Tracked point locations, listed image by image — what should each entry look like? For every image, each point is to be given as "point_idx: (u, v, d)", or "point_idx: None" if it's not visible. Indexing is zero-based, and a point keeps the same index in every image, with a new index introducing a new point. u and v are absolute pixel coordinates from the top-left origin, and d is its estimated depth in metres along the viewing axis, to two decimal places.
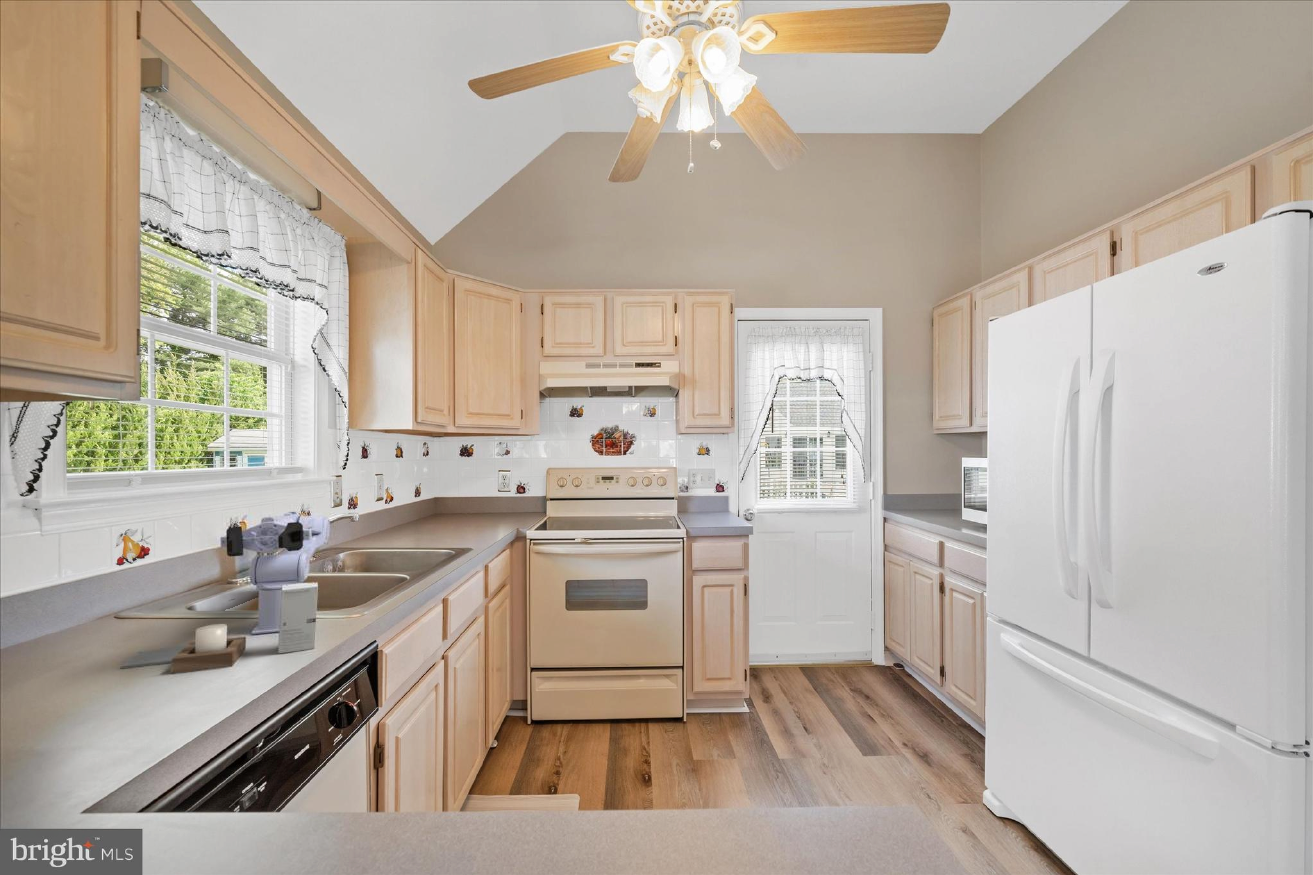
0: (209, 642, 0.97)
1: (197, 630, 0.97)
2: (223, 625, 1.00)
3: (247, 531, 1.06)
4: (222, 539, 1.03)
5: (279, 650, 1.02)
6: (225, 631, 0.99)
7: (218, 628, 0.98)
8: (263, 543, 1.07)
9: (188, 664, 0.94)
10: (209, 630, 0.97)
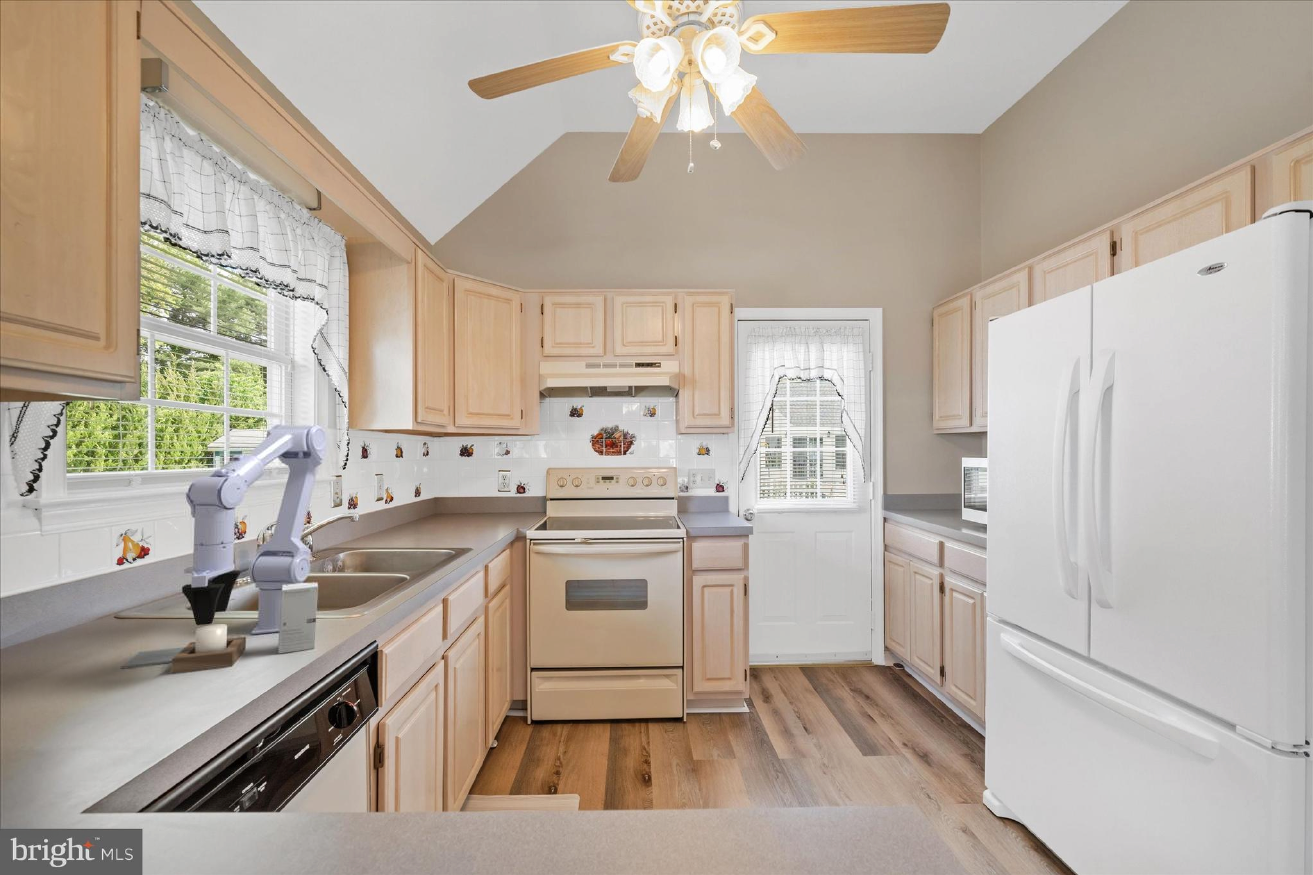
0: (209, 642, 0.97)
1: (197, 630, 0.97)
2: (223, 625, 1.00)
3: None
4: None
5: (279, 650, 1.02)
6: (225, 631, 0.99)
7: (218, 628, 0.98)
8: None
9: (188, 664, 0.94)
10: (209, 630, 0.97)
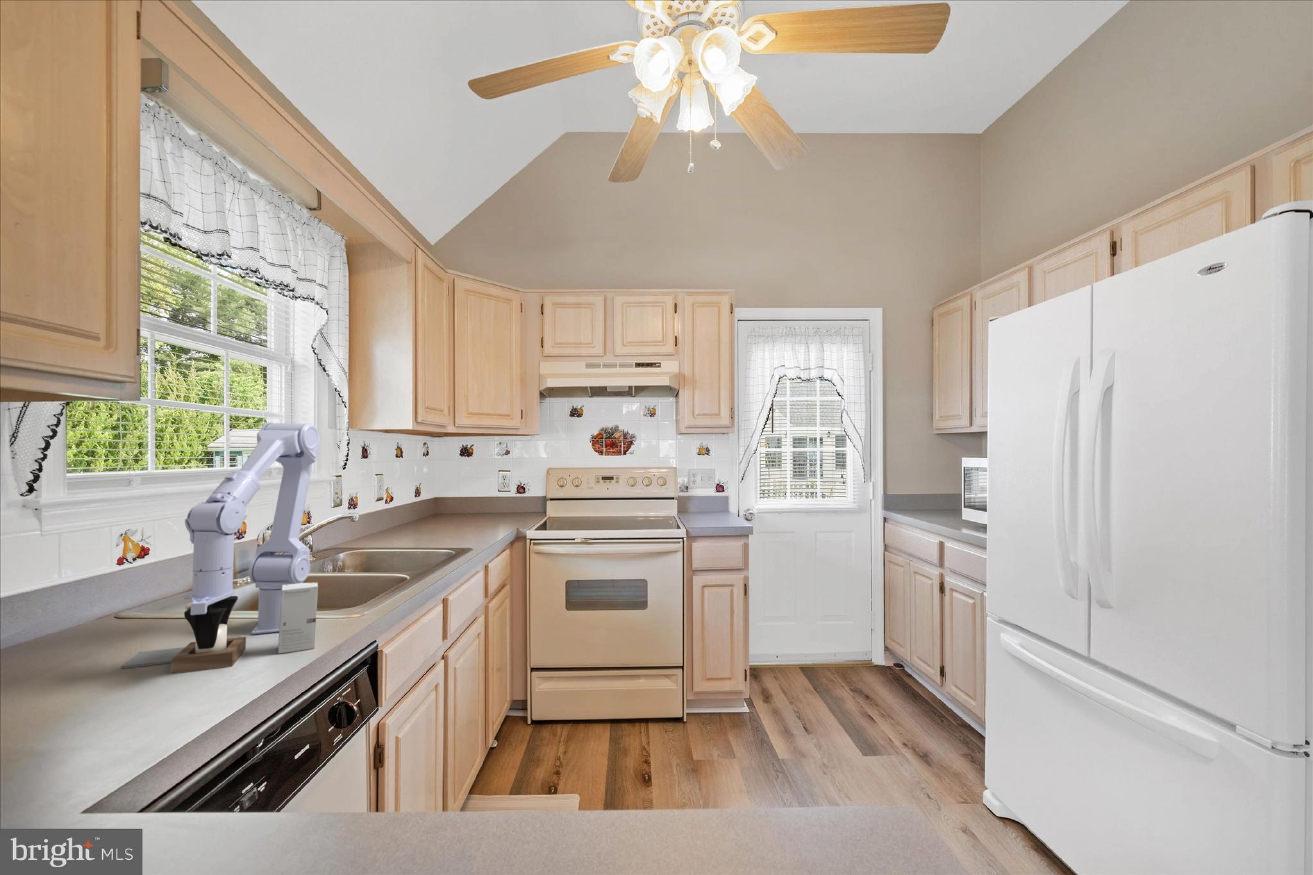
0: None
1: None
2: (223, 625, 1.00)
3: None
4: None
5: (279, 650, 1.02)
6: (225, 631, 0.99)
7: (218, 628, 0.98)
8: None
9: (188, 664, 0.94)
10: None
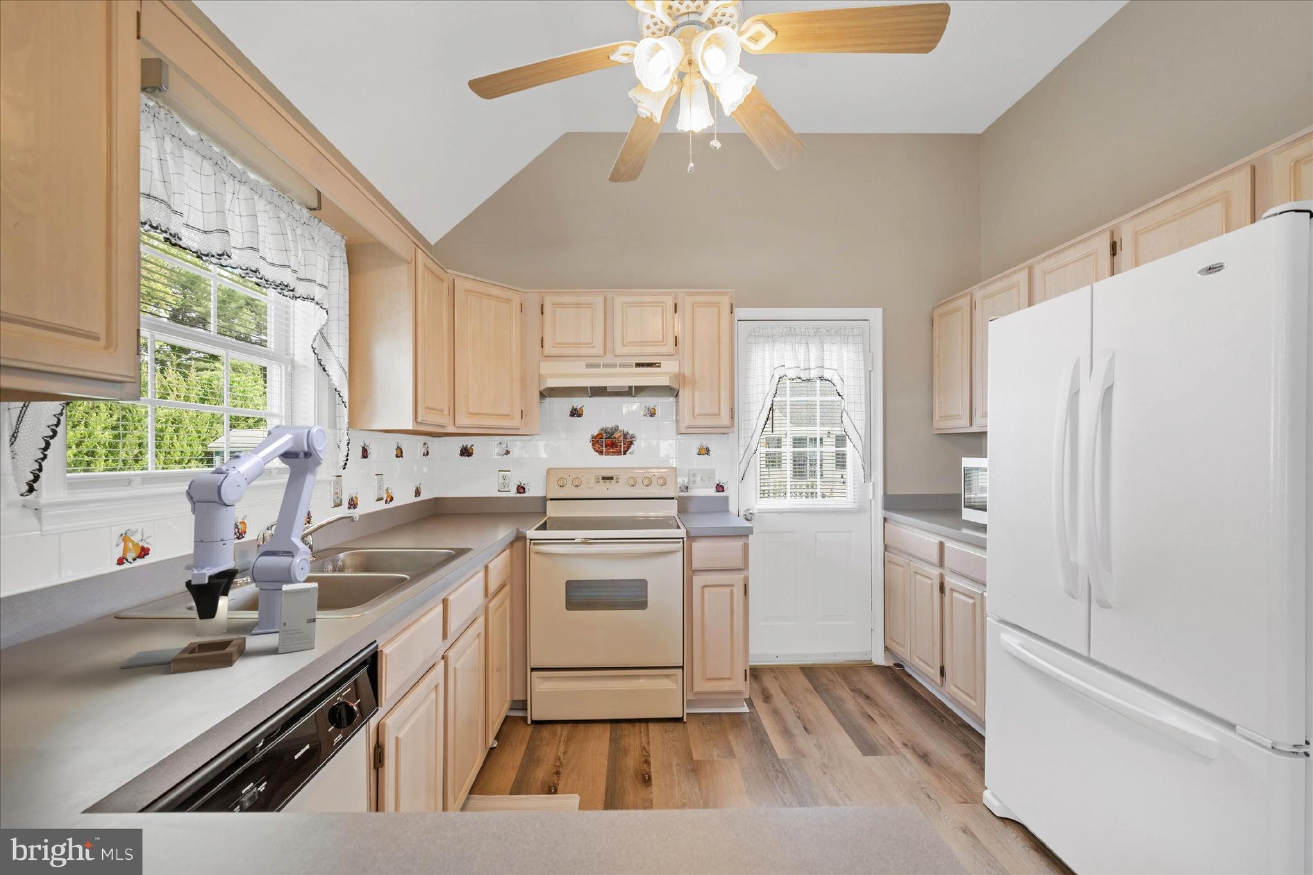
0: None
1: None
2: (224, 597, 1.00)
3: None
4: None
5: (279, 650, 1.02)
6: (226, 602, 0.99)
7: (219, 600, 0.98)
8: None
9: (188, 664, 0.94)
10: None
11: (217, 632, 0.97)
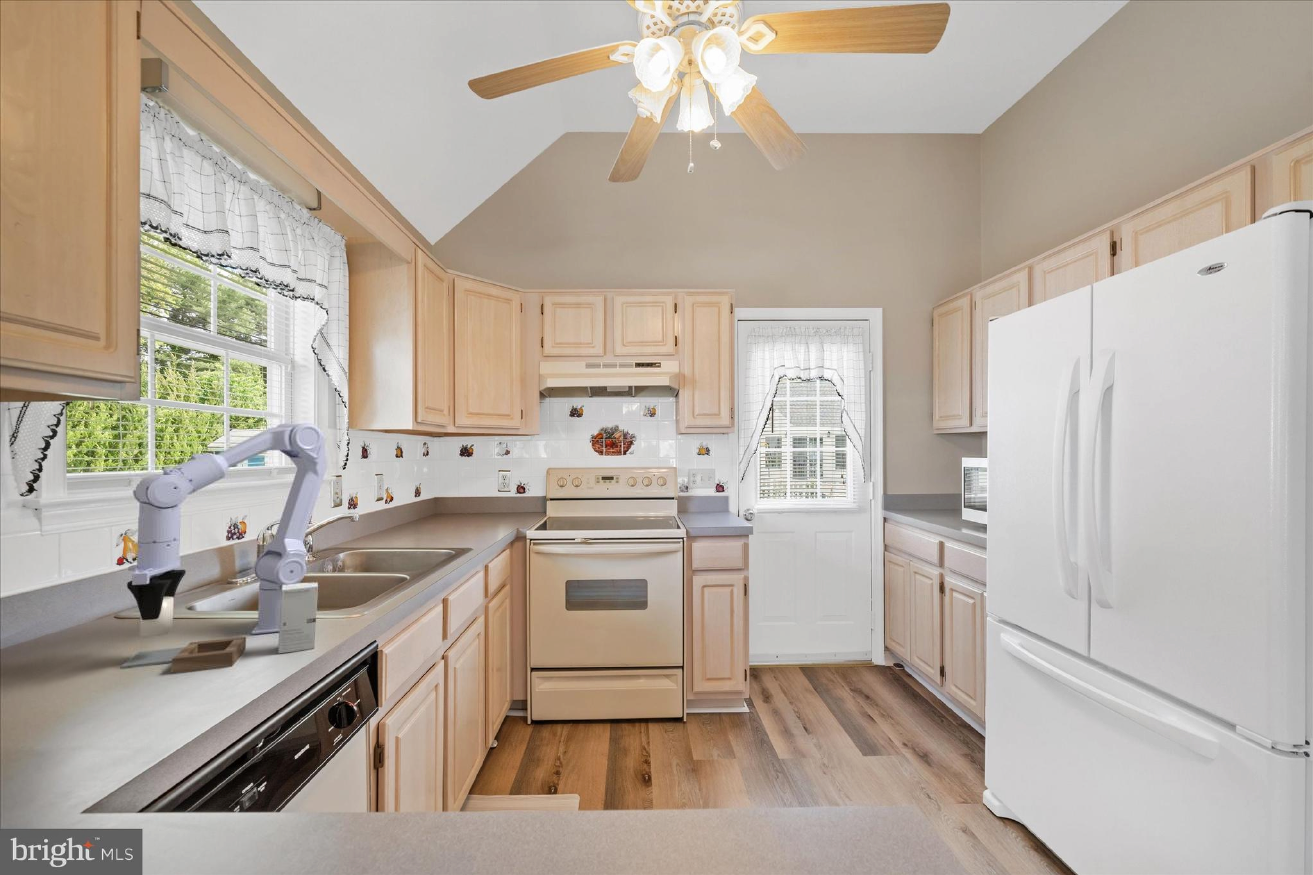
0: None
1: None
2: (170, 597, 1.01)
3: None
4: None
5: (279, 650, 1.02)
6: (171, 603, 1.00)
7: (163, 600, 0.99)
8: None
9: (188, 664, 0.94)
10: None
11: (161, 632, 0.98)
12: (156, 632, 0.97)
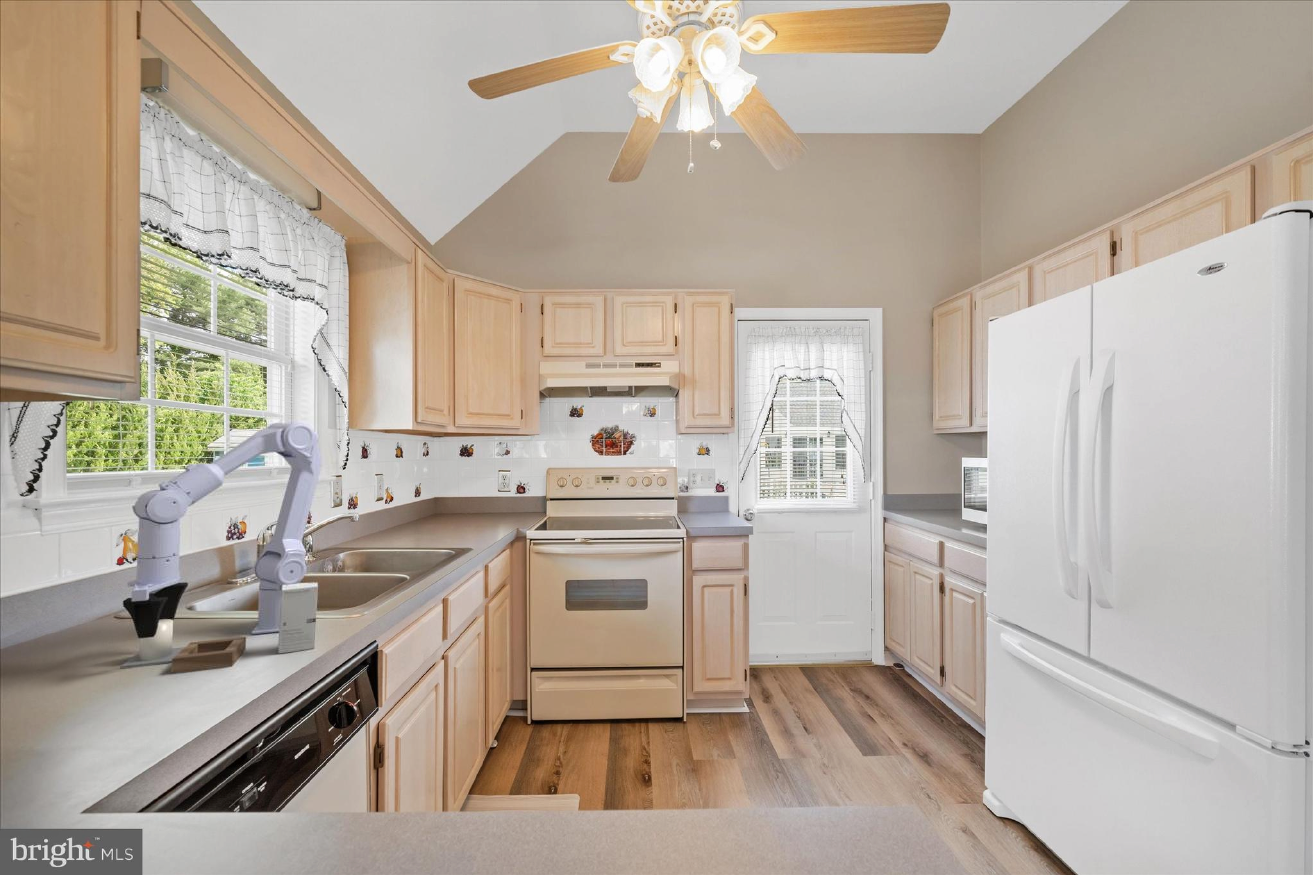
0: (152, 637, 0.97)
1: None
2: (169, 620, 1.01)
3: None
4: None
5: (279, 650, 1.02)
6: (170, 626, 1.00)
7: (162, 624, 0.99)
8: None
9: (188, 664, 0.94)
10: None
11: (160, 656, 0.98)
12: (156, 656, 0.98)
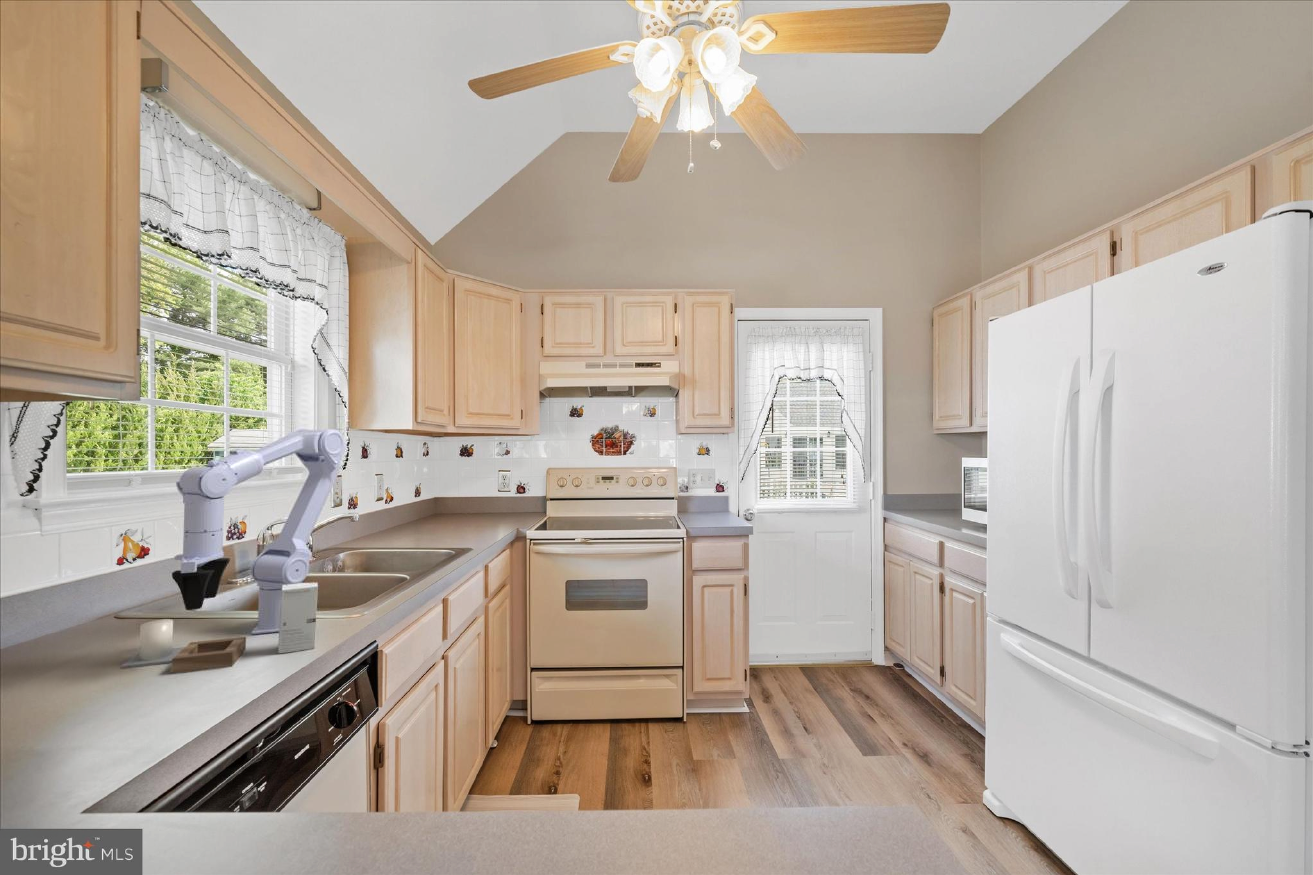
0: (152, 637, 0.97)
1: (142, 625, 0.98)
2: (169, 620, 1.01)
3: None
4: None
5: (279, 650, 1.02)
6: (170, 626, 1.00)
7: (162, 624, 0.99)
8: None
9: (188, 664, 0.94)
10: (153, 625, 0.98)
11: (160, 656, 0.98)
12: (156, 656, 0.98)
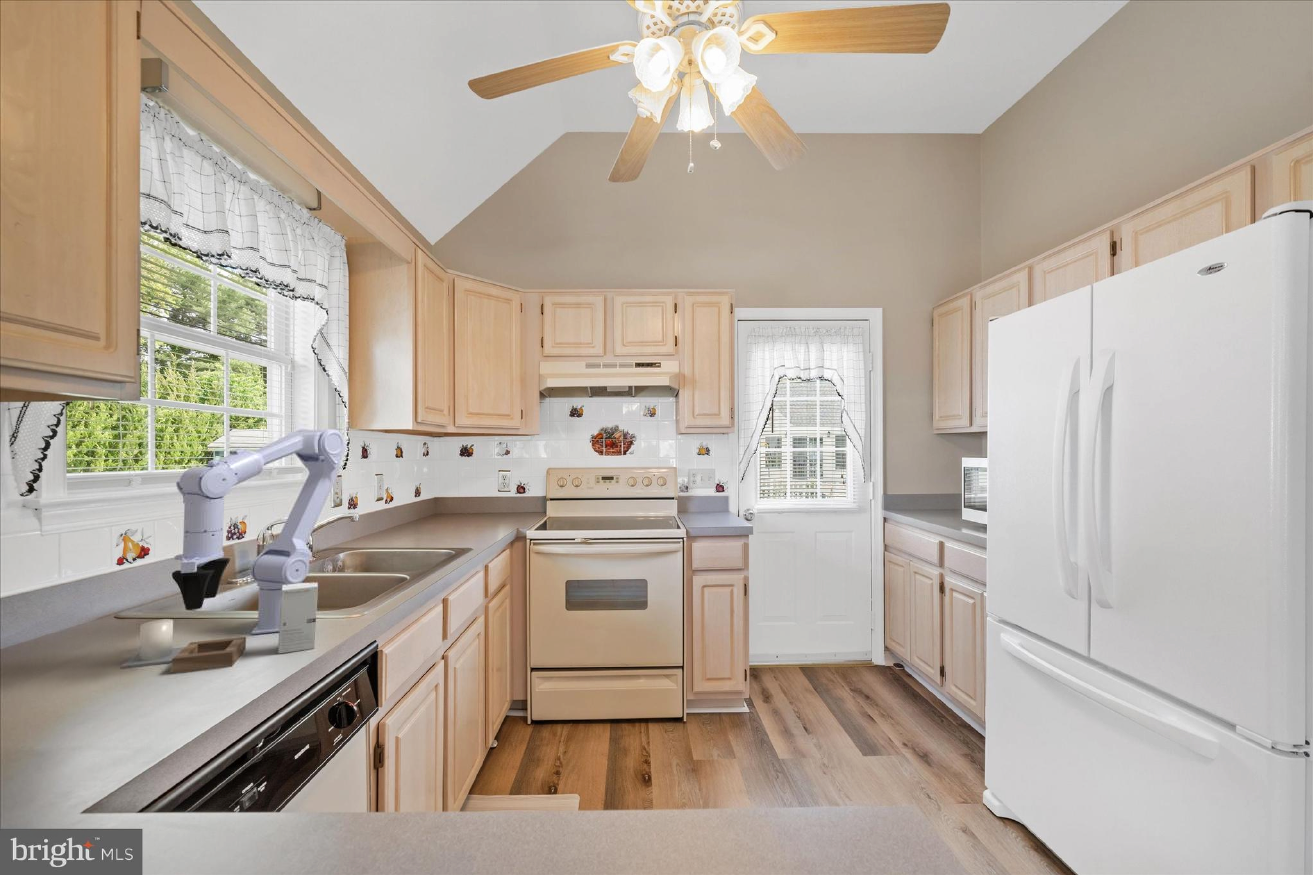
0: (152, 637, 0.97)
1: (142, 625, 0.98)
2: (169, 620, 1.01)
3: None
4: None
5: (279, 650, 1.02)
6: (170, 626, 1.00)
7: (162, 624, 0.99)
8: None
9: (188, 664, 0.94)
10: (153, 625, 0.98)
11: (160, 656, 0.98)
12: (156, 656, 0.98)
